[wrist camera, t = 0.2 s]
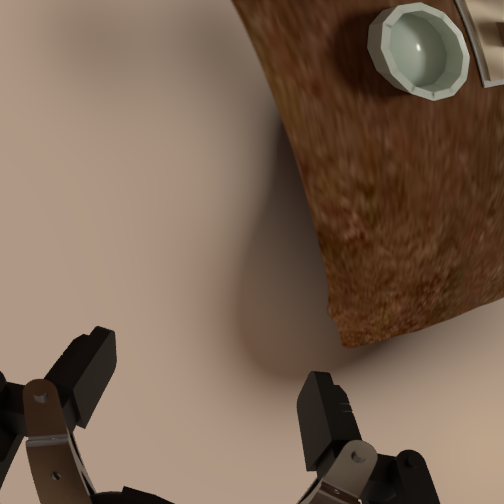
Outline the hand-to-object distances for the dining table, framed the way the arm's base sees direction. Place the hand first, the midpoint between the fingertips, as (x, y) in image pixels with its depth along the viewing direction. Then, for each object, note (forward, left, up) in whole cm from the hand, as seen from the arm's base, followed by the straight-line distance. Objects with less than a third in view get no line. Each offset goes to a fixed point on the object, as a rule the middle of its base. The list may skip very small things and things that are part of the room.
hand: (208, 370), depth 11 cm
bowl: (-4, +24, -31) cm, 40 cm away
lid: (-4, +43, -31) cm, 53 cm away
